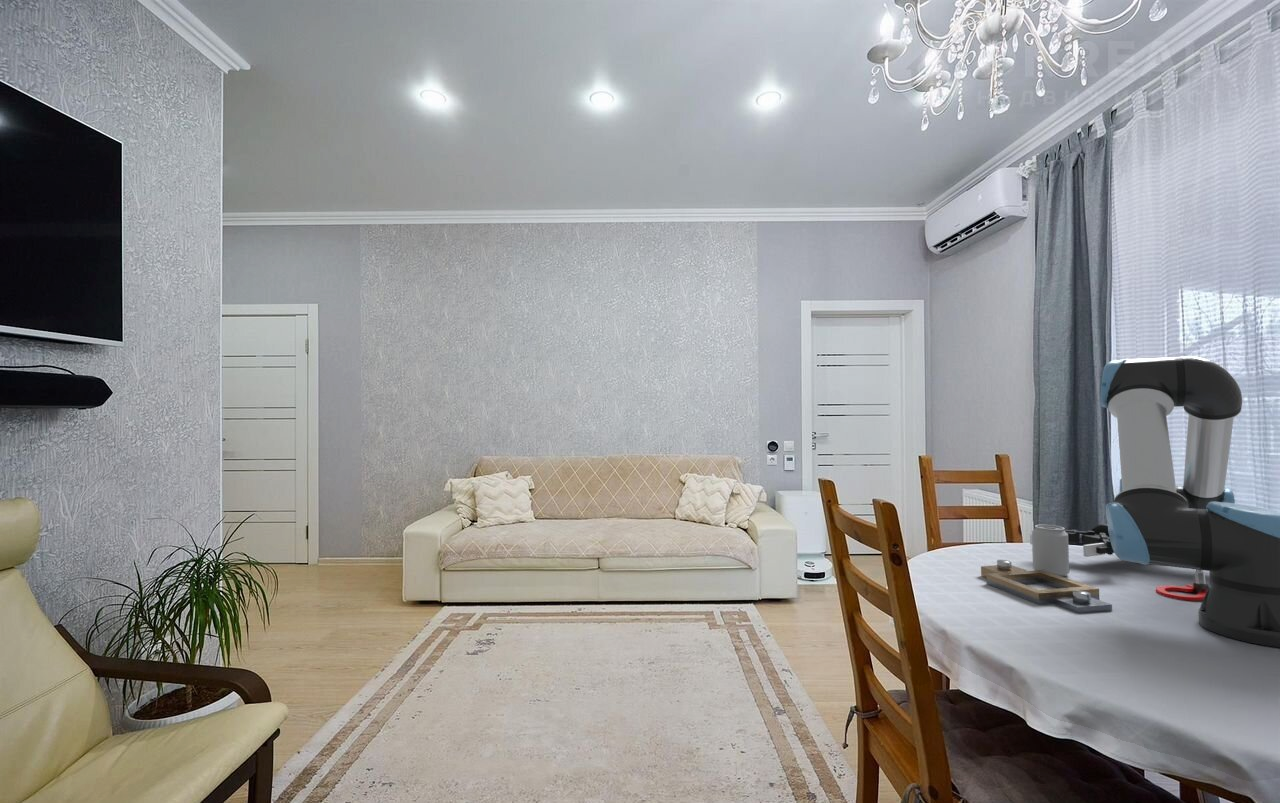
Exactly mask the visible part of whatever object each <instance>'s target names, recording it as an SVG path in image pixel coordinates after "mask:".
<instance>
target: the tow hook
mask: <svg viewBox="0 0 1280 803" xmlns="http://www.w3.org/2000/svg"><path fill="white" fill-rule="evenodd" d="M1194 579H1195V582H1192V584H1188V583H1187V584H1185V585H1183V586H1182V585H1159V586H1157V587H1155V592H1156V593H1157V594H1158V593H1159V595H1160V594H1161V595H1160V596H1163V595H1164V596H1163V597H1166V596H1167V597H1166V598H1170V597H1171V599H1174V598H1175V599H1174V600H1180V599H1181V601H1189V602H1190V601H1191V602H1193V601H1194V602H1197V601H1201V602H1202V601H1203V599H1204V597H1205V595H1206V592H1207V590H1208V588H1209V586H1210V584H1207V583H1206V572H1204V570H1196V569H1195V571H1194ZM1171 591H1172V592H1171ZM1174 591H1175V592H1177V591H1178V592H1185V593H1194V594H1193V595H1192V594H1191V595H1190V594H1189V595H1187V594H1179V593H1173V592H1174Z"/></svg>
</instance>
